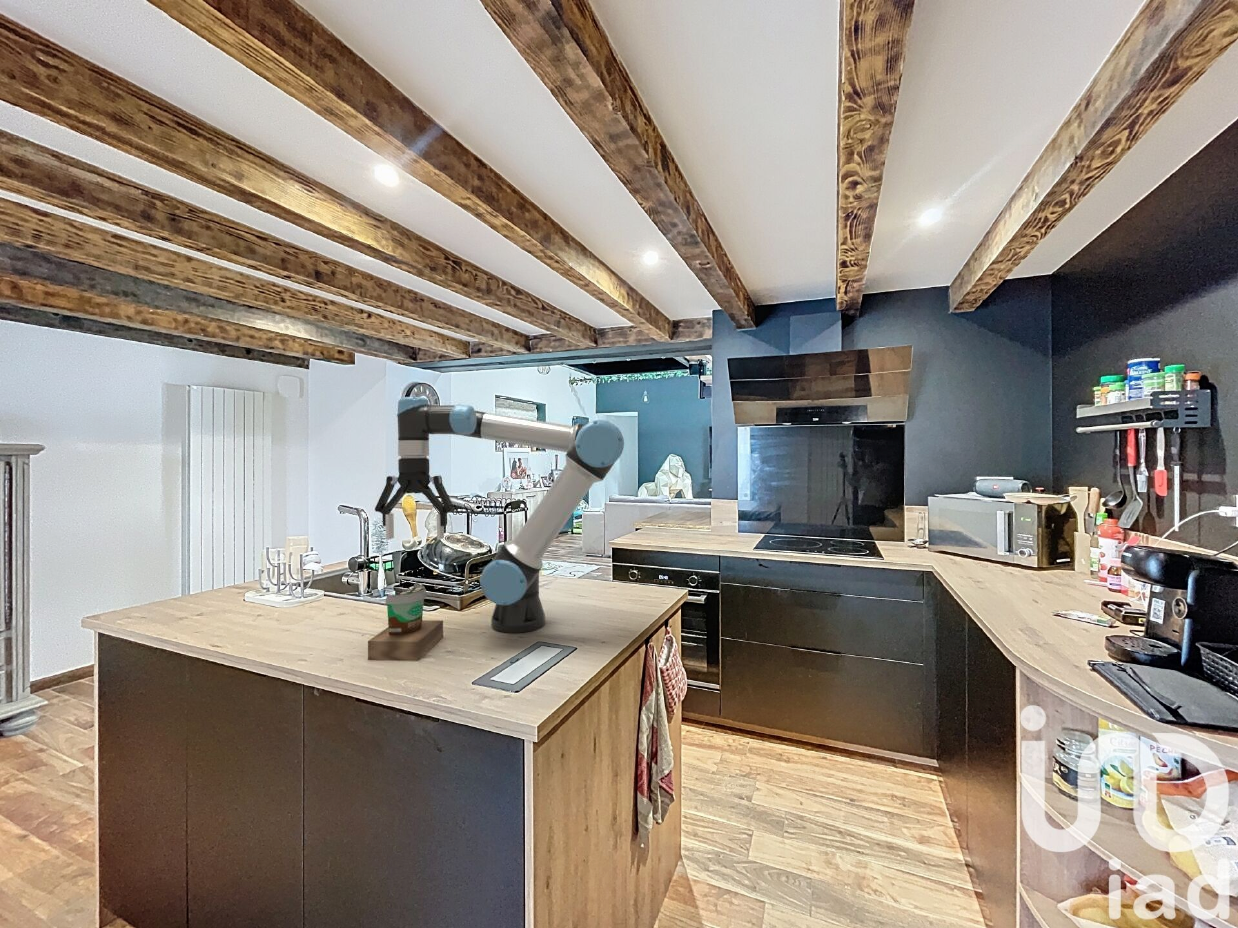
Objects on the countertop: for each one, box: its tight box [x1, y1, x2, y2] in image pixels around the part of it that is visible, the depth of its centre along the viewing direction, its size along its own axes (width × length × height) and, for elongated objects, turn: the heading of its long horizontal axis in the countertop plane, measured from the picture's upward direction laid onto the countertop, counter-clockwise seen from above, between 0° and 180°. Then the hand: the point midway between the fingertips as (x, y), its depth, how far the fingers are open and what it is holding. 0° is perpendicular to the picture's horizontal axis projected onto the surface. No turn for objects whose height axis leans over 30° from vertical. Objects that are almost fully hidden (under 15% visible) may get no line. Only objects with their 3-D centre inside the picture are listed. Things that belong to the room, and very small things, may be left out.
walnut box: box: [367, 619, 444, 662], centre depth 132 cm, size 12×16×5 cm
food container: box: [385, 583, 428, 635], centre depth 132 cm, size 12×6×10 cm, turn 168°
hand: (415, 539), depth 137 cm, fingers open, 13 cm apart
